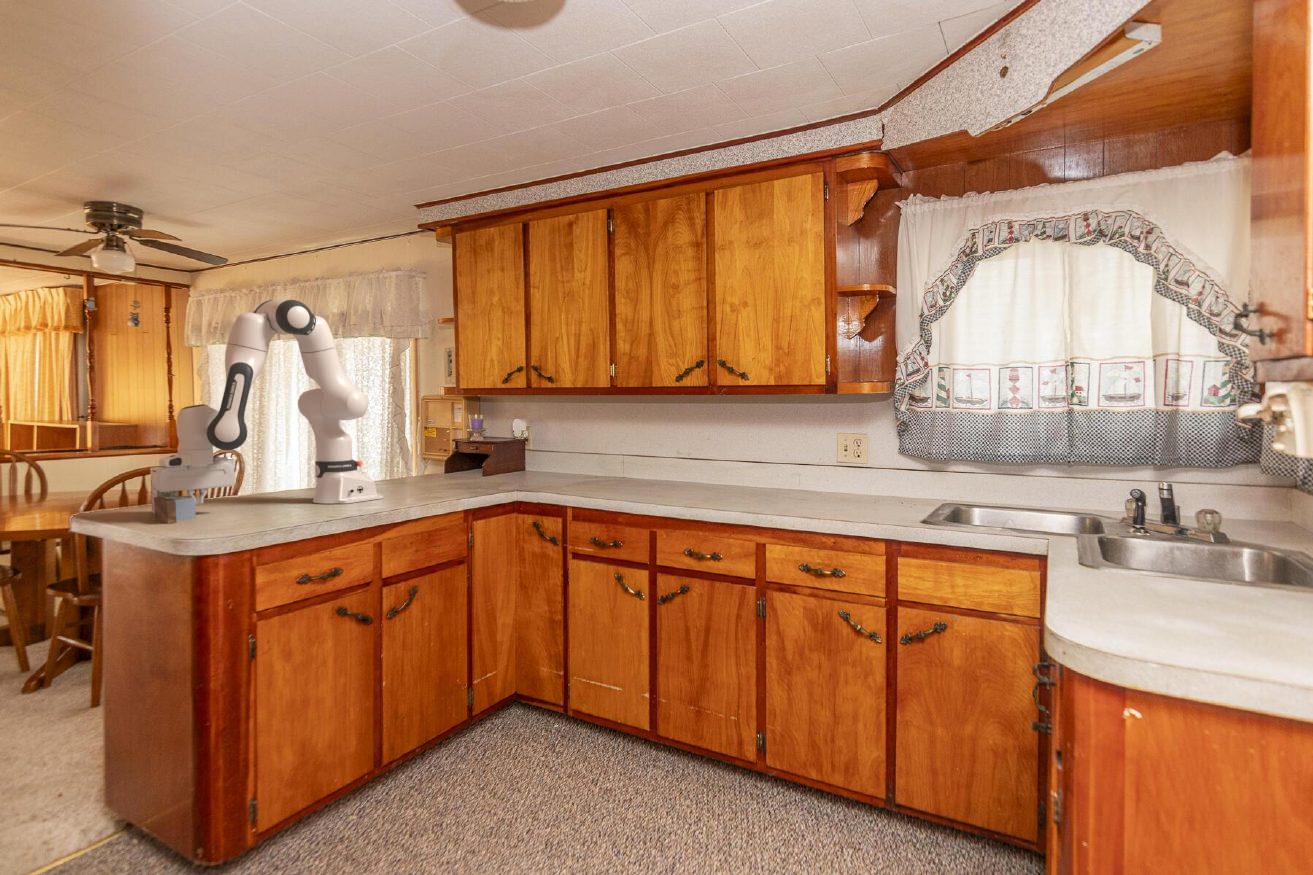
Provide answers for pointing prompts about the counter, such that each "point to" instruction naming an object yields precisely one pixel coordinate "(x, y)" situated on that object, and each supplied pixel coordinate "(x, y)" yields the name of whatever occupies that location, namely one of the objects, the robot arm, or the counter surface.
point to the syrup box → (157, 493)
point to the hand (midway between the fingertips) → (197, 504)
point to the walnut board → (165, 509)
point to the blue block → (184, 507)
